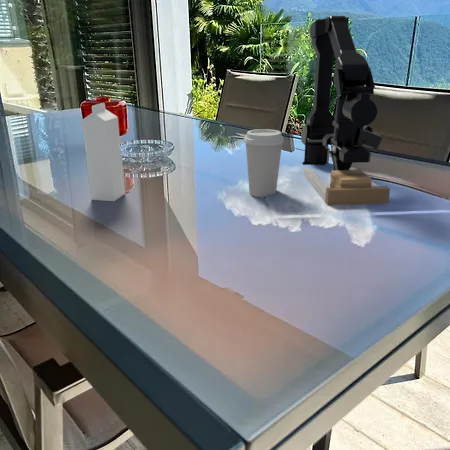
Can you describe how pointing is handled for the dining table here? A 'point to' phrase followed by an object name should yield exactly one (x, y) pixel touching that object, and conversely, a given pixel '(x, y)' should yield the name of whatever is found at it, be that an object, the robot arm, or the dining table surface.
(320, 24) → the robot arm
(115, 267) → the dining table surface
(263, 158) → the coffee cup
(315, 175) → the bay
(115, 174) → the milk
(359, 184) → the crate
